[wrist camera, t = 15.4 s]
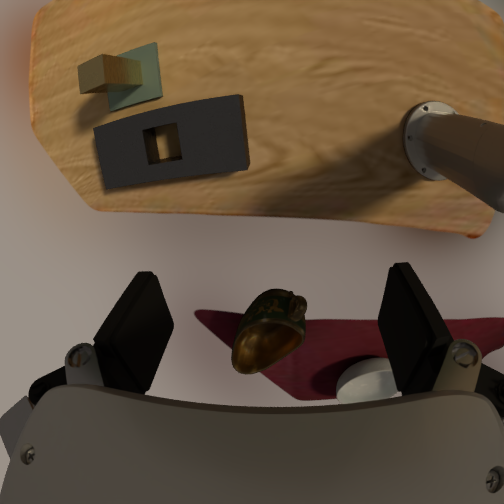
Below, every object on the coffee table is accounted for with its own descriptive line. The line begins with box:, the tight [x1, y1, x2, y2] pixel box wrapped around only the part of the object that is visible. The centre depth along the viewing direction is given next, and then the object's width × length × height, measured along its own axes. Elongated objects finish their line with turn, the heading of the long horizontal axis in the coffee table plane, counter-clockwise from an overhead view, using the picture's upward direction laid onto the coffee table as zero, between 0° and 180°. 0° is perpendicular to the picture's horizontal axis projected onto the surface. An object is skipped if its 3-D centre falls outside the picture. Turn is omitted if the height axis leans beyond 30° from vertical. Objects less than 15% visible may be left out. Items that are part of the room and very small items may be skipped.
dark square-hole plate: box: [93, 94, 250, 189], centre depth 35 cm, size 22×10×4 cm, turn 96°
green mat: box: [108, 42, 163, 111], centre depth 31 cm, size 9×9×1 cm
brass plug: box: [78, 54, 143, 94], centre depth 26 cm, size 4×4×10 cm
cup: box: [231, 289, 307, 374], centre depth 47 cm, size 13×20×10 cm, turn 126°
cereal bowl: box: [336, 358, 398, 404], centre depth 56 cm, size 17×17×7 cm
